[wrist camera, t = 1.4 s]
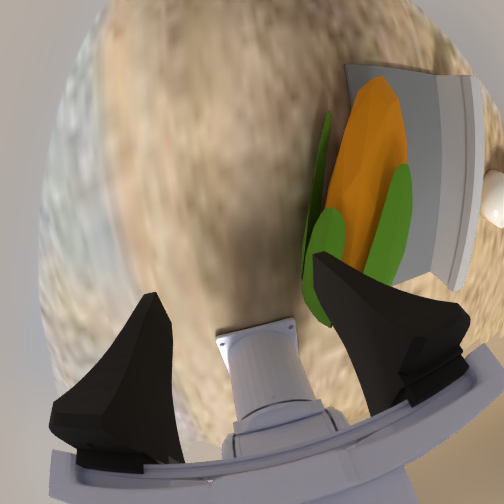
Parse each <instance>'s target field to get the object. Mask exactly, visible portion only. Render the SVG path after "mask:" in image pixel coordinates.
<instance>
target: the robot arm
mask: <svg viewBox="0 0 504 504" xmlns="http://www.w3.org/2000/svg"><path fill="white" fill-rule="evenodd" d="M312 260H313V288H314V291H315V293H316V296H317V298H318V300H319V302H320V305H321V307H322V308H323V310H324V312H325V313H326V315H327V317H328V318H329V320H330V322H331V323H332V325H333V327H334V328H335V330H336V332H337V333H338V335H339V337H340V339H341V340H342V342H343V344H344V346H345V348H346V350H347V352H348V355H349V357H350V359H351V362H352V364H353V366H354V369H355V371H356V374H357V376H358V379H359V382H360V385H361V387H362V390H363V393H364V396H365V399H366V402H367V405H368V409H369V412H370V416H371V417H370V418H368V419H366V420H364V421H361V422H359V423H356V424H354V425H351V426H350V425H349V423H348V421H347V419H346V418H345V416H344V414H343V413H342V412H341V411H340V410H337V409H335V408H334V407H327V408H324V406H323V404H322V401H321V399H318V400H316V397H315V395H314V392H313V390H312V387H311V385H310V382H309V380H308V378H307V375H306V373H305V370H304V368H303V365H302V363H301V360H300V358H299V353H298V342H297V332H296V322H295V320H294V318H287V319H283V320H280V321H276V322H272V323H268V324H264V325H260V326H256V327H252V328H248V329H244V330H240V331H236V332H231V333H227V334H223V335H219V336H217V337H216V343H217V345H218V348H219V350H220V353H221V355H222V358H223V360H224V363H225V365H226V367H227V370H228V372H229V374H230V378H231V385H232V391H233V397H234V403H235V409H236V415H237V420H238V421H237V422H234V423H233V426H234V432H235V433H231V434H228V435H227V437H226V439H225V440H224V442H223V444H222V459H223V460H216V461H207V462H197V463H185V461H184V457H183V453H182V449H181V445H180V441H179V436H178V431H177V426H176V420H175V413H174V406H173V397H172V356H173V334H172V323H171V321H170V319H169V317H168V315H167V313H166V311H165V309H164V307H163V305H162V303H161V301H160V299H159V297H158V295H157V293H156V292H153V293H148V294H144V295H143V297H142V298H141V300H140V301H139V303H138V305H137V306H136V308H135V310H134V311H133V313H132V314H131V316H130V318H129V319H128V321H127V323H126V324H125V326H124V327H123V329H122V330H121V332H120V333H119V335H118V336H117V338H116V339H115V341H114V342H113V344H112V345H111V346H110V348H109V349H108V350H107V352H106V353H105V354H104V355H103V357H102V358H101V359H100V360H99V361H98V363H97V364H96V365H95V366H94V367H93V368H92V369H91V370H90V371H89V372H88V373H87V374H86V375H85V376H84V377H83V378H82V379H81V380H80V381H79V382H78V383H77V384H76V385H75V386H74V387H72V388H71V389H70V390H69V391H68V392H66V393H65V394H64V395H62V396H61V397H60V398H58V399H57V400H56V401H54V402H53V407H52V412H51V416H50V422H49V429H50V430H51V432H52V433H53V434H54V435H55V436H57V437H58V438H59V439H61V440H63V441H64V442H66V443H68V444H69V445H71V446H73V447H74V448H76V449H77V455H75V454H73V453H69V452H64V451H59V450H52V456H51V467H50V482H49V496H50V497H51V498H54V499H57V500H60V501H63V502H66V503H69V504H420V503H419V500H418V498H417V496H416V493H415V491H414V489H413V486H412V484H411V482H410V480H409V478H408V475H407V473H406V471H405V469H404V466H405V465H407V464H409V463H410V462H412V461H414V460H416V459H417V458H419V457H421V456H422V455H424V454H425V453H427V452H429V451H430V450H431V449H433V448H435V447H436V446H438V445H439V444H441V443H442V442H443V441H445V440H446V439H448V438H449V437H450V436H452V435H453V434H455V433H456V432H457V431H459V430H460V429H461V428H462V427H464V426H465V425H466V424H467V423H469V422H470V421H471V420H472V419H474V418H475V417H476V416H477V415H478V414H479V413H480V412H482V411H483V410H484V409H485V408H486V407H487V406H488V405H489V404H491V402H493V401H494V399H496V397H498V396H499V395H500V394H501V393H502V391H504V368H503V367H502V365H501V364H500V363H499V361H498V360H497V359H496V357H495V356H494V355H493V354H492V352H491V351H490V350H489V348H488V347H487V346H486V344H485V343H484V344H482V345H480V346H479V347H478V348H477V349H475V350H474V351H473V352H471V353H470V354H469V355H468V356H467V357H466V358H465V359H464V358H463V357H462V355H461V354H462V353H463V349H462V348H461V347H460V346H459V345H460V343H461V341H462V339H463V338H464V336H465V334H466V332H467V330H468V328H469V326H470V320H471V319H470V316H469V315H468V314H467V313H466V312H465V311H464V309H463V308H462V307H461V306H460V305H459V304H458V303H452V302H445V301H438V300H433V299H429V298H424V297H421V296H417V295H413V294H410V293H407V292H404V291H401V290H398V289H396V288H393V287H391V286H388V285H386V284H384V283H381V282H379V281H377V280H375V279H373V278H371V277H369V276H367V275H365V274H363V273H362V272H360V271H358V270H356V269H354V268H353V267H351V266H349V265H348V264H346V263H344V262H343V261H341V260H339V259H338V258H336V257H334V256H333V255H331V254H329V253H328V252H326V251H322V252H318V253H314V254H312ZM291 325H292V326H291ZM289 326H290V327H289ZM206 480H213V481H212V482H210V483H209V482H208V481H206Z"/></svg>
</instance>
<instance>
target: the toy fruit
mask: <svg viewBox="0 0 504 504" xmlns="http://www.w3.org/2000/svg"><path fill="white" fill-rule="evenodd" d="M330 125H331V114H330V111H329V110H327V115H326V119H325V123H324V127H323V131H322V136H321V140H320V144H319V148H318V152H317V156H316V163H315V170H314V177H313V184H312V190H311V197H310V203H309V209H308V215H307V221H306V227H305V233H304V238H303V244H302V274H301V278H302V281H303V283H302V292H303V296H304V300H305V303H306V304H307V306H308V307H309V309H310V310H311V312H312V313H313V315H314V316H315V317H316V318H317V320H318V321H319V322H321V323H322V324H324V325H326V326H328V327H329V328H331V327H332V323H331V322H330V320H329V318H328V317H327V315H326V313H325V312H324V310H323V308H322V307H321V305H320V302H319V300H318V298H317V296H316V293H315V291H314V288H313V260H312V254H314V253H318V252H322V251H326V252H328V253H329V254H331V255H333V256H334V257H336V258H338V259H339V260H341V261H343V262H344V263H346V264H348V265H349V266H351V267H353V268H354V269H356V270H358V271H360V272H362V273H363V274H365V275H367V276H369V277H371V278H373V279H375V280H377V281H379V282H381V283H384V284H386V285H388V286H391V285H392V283H393V280H394V278H395V275H396V273H397V271H398V268H399V265H400V263H401V260H402V258H403V255H404V252H405V248H406V244H407V239H408V234H409V229H410V224H411V218H412V212H413V197H412V179H411V173H410V169H409V165H407V140H406V134H405V128H404V122H403V117H402V112H401V107H400V103H399V99H398V97H397V96H396V94H395V93H394V91H393V90H392V88H391V87H390V85H389V84H388V82H387V81H386V80H385V78H384V77H383V76H380V77H375V78H373V79H371V80H369V81H368V82H367V83H366V84H365V85H364V86H363V87H362V88H361V89H360V90H359V91H358V93H357V96H356V99H355V102H354V105H353V108H352V111H351V114H350V117H349V119H348V122H347V125H346V128H345V131H344V135H343V139H342V142H341V146H340V149H339V153H338V156H337V159H336V163H335V166H334V170H333V173H332V176H331V179H330V183H329V186H328V191H327V197H326V202H325V208H324V211H323V212H322V213H321V214H320V209H321V199H322V190H323V181H324V172H325V162H326V152H327V146H328V139H329V133H330Z"/></svg>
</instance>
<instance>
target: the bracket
mask: <svg viewBox="0 0 504 504" xmlns="http://www.w3.org/2000/svg"><path fill="white" fill-rule="evenodd" d="M344 67H345V72H346V78H347V84H348V90H349V97H350V104H351V111H352V108H353V105H354V102H355V99H356V96H357V93H358V91H359V90H360V89H361V88H362V87H363V86H364V85H365V84H366V83H367V82H368V81H369V80H371V79H373V78H375V77H380V76H383V77H384V78H385V80H386V81H387V82H388V84H389V85H390V87H391V88H392V90H393V91H394V93H395V94H396V96H397V97H398V99H399V103H400V107H401V112H402V117H403V122H404V128H405V134H406V140H407V165H409V169H410V173H411V179H412V197H413V212H412V218H411V224H410V229H409V234H408V239H407V244H406V248H405V252H404V255H403V258H402V260H401V263H400V265H399V268H398V271H397V273H396V275H395V278H394V280H393V283H392V285H391V286H394V285H396V284H399V283H402V282H404V281H407V280H409V279H412V278H415V277H417V276H420V275H422V274H425V273H427V272H431V273H433V274H434V275H435V276H436V277H437V278H438V279H440V280H441V281H442V282H443V283H444V284H445V285H446V286H448V289H450V290H451V291H452V292H455V291H457V290H459V289H461V288H463V284H464V281H465V277H466V274H467V270H468V266H469V262H470V258H471V254H472V250H473V245H474V240H475V235H476V230H477V224H478V218H479V211H480V204H481V196H482V186H483V173H484V114H483V102H482V92H481V84H480V79H478V78H476V77H473V76H470V75H432V74H427V73H422V72H416V71H411V70H404V69H398V68H390V67H381V66H371V65H358V64H344Z"/></svg>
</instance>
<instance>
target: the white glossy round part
mask: <svg viewBox="0 0 504 504" xmlns="http://www.w3.org/2000/svg"><path fill="white" fill-rule="evenodd" d="M479 213H480V215H481V217H482V218H484V219H486V220H488V221H489V222H491V223H493V224H494V225H496V226H498V227H499V228H504V173H502V172H499V171H497V170H494V169H492V170H489V171H488V172H487V173H486V175H485V176H484V178H483V186H482V196H481V204H480V211H479Z"/></svg>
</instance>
